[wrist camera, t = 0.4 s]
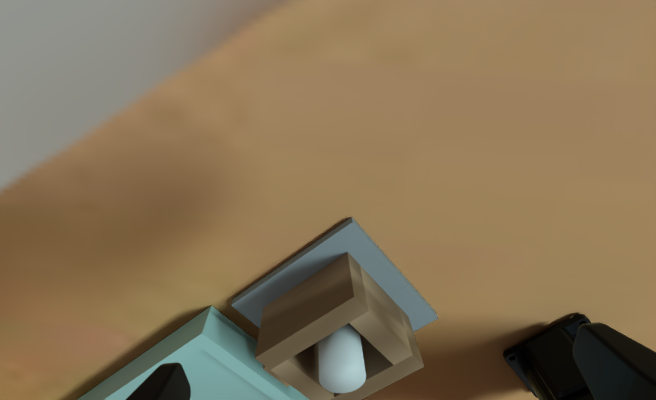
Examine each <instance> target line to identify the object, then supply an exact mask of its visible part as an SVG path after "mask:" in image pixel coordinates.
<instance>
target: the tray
mask: <svg viewBox="0 0 656 400" xmlns="http://www.w3.org/2000/svg"><path fill="white" fill-rule="evenodd" d="M256 348H257V341H256V340H255V339H253V338H252V337H251V336H250V335H248V334H247V333H246V332H245V331H243V330H242V329H241V328H239V327H238V326H237V325H236V324H234V323H233V322H232V321H231V320H229V319H228V318H227V317H225V316H224V315H223V314H222V313H220V312H219V311H218V310H216V309H215V308H214V307H213V306H210V307H209V308H208V309H206V310H205V311H203V312H202V313H200V314H199V315H197V316H196V317H195V318H193V319H192V320H190V321H189V322H187V323H186V324H185V325H183V326H182V327H180V328H179V329H177V330H176V331H175V332H173V333H172V334H170V335H169V336H167V337H166V338H165V339H163V340H162V341H160V342H159V343H157V344H156V345H154V346H153V347H152V348H150V349H149V350H147V351H146V352H144V353H143V354H142V355H140V356H139V357H137V358H136V359H134V360H133V361H132V362H130V363H129V364H127V365H126V366H124V367H123V368H122V369H120V370H119V371H117V372H116V373H114V374H113V375H111V376H110V377H109V378H107V379H106V380H104V381H103V382H101V383H100V384H99V385H97V386H96V387H94V388H93V389H91V390H90V391H89V392H87V393H86V394H84V395H83V396H81V397H80V398H79V399H77V400H126V399H127V398H128V397H129V395H130V394H131V393H132V392H133V391H134V390H135V389H136V388H137V387H138V386H139V385H140V384H141V383H142V382H143V381H144V380H145V379H146V378H147V377H148V376H149V375H150V374H151V373H152V372H153V371H154V370H155V369H156V368H157V367H159V366H160V365H162V364H165V363H175V362H178V363H180V364H181V365H182V367H183V369H184V371H185V374H186V376H187V379H188V381H189V384H190V387H191V397H190V400H309V399H308V398H307V397H305V396H304V395H303V394H301V393H300V392H299V391H297V390H296V389H295V388H293V387H292V386H291V385H290V386H289V387H286V386H285V385H284V384H282V383H281V382H280V381H278V380H277V379H276V378H274V377H273V376H272V375H270V374H269V373H268V372H266V371H265V370H264V369H263V364H262V363H260V362H259V361H258V360H256V359H255V354H256Z"/></svg>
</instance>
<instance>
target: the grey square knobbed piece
mask: <svg viewBox="0 0 656 400" xmlns="http://www.w3.org/2000/svg"><path fill="white" fill-rule="evenodd" d="M346 252H348V253H349V254H350V255H351V256H352V257H353V258H354V259H355V260H356V261H357V262H358V263H359V264H360V265H361V267H362V268H363V269H364V270H365V271H366V272H367V273H368V274H369V275H370V276H371V277H372V278H373V279H374V280H375V281H376V283H377V284H378V285H379V286H380V287H381V288H382V289H383V290H384V291H385V292H386V293H387V294H388V295H389V296H390V297H391V298H392V300H393V301H394V302H395V303H396V304H397V305H398V306H399V307H400V308H401V309H402V310H403V311H404V312H405V313H406V314H407V316H408V317H409V320H410V323H411V326H412V329H413V332H414V331H416V330H418V329H420V328H421V327H423V326H425V325H427V324H429V323H430V322H432V321H434V320H436V319H438V317H437V314H436V312H435V311H434V310H433V309H432V307H431V306H430V305H429V304H428V303H427V302H426V301H425V300H424V298H423V297H422V296H421V295H420V294H419V293H418V292H417V290H416V289H415V288H414V287H413V286H412V285H411V284H410V283H409V281H408V280H407V279H406V278H405V277H404V276H403V275H402V273H401V272H400V271H399V270H398V269H397V268H396V267H395V266H394V264H393V263H392V262H391V261H390V260H389V259H388V258H387V256H386V255H385V254H384V253H383V252H382V251H381V250H380V249H379V247H378V246H377V245H376V244H375V243H374V242H373V241H372V239H371V238H370V237H369V236H368V235H367V234H366V233H365V231H364V230H363V229H362V228H361V227H360V226H359V225H358V224H357V222H356V221H355V220H354V219H353V218H352V217H351V218H349V219H348V220H347V221H345V222H344V223H342V224H341V225H339V226H338V227H336V228H335V229H334V230H332V231H331V232H329V233H328V234H326V235H325V236H323V237H322V238H320V239H319V240H318V241H316V242H315V243H313V244H312V245H310V246H309V247H307V248H306V249H305V250H303V251H302V252H300V253H299V254H297V255H296V256H294V257H293V258H291V259H290V260H289V261H287V262H286V263H284V264H283V265H281V266H280V267H278V268H277V269H276V270H274V271H273V272H271V273H270V274H268V275H267V276H265V277H264V278H262V279H261V280H260V281H258V282H257V283H255V284H254V285H252V286H251V287H249V288H248V289H247V290H245V291H244V292H242V293H241V294H239V295H238V296H236V297H235V298H234V299H233V300H232V303H231V306H232V307H234V308H235V309H236V310H237V311H239V312H240V313H241V314H242V315H243V316H245V317H246V318H247V319H248V320H250V321H251V322H252V323H253V324H255V325H256V326H257V327H258V328H260V324H261V318H262V312H263V307H265V306H266V305H268V304H269V303H271V302H272V301H274V300H275V299H277V298H278V297H280V296H281V295H283V294H284V293H286V292H287V291H289V290H290V289H292V288H293V287H295V286H296V285H298V284H299V283H301V282H302V281H304V280H306V279H307V278H309V277H310V276H312V275H313V274H315V273H316V272H318V271H319V270H321V269H322V268H324V267H325V266H327V265H328V264H330V263H331V262H333V261H334V260H336V259H337V258H339V257H340V256H342V255H343V254H345V253H346ZM318 347H319V381H320V384H321V385H322V387H323V388H325V389H326V390H328V391H330V392H334V393H348V392H352V391H354V390H357V389H358V388H360V387H361V386H362V385H363V384H364V382H365V380H366V372H365V365H364V359H363V352H362V345H361V338H360V333H359V332H358V331H357V330H356V329H355V328H354V327H353V326H352V325H351V324H350V323H348V324H346V325H345V326H343V327H341V328H340V329H338V330H336V331H335V332H333V333H331V334H330V335H328V336H326V337H325V338H323V339H321V340H320V341H318Z"/></svg>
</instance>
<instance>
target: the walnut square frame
mask: <svg viewBox="0 0 656 400" xmlns="http://www.w3.org/2000/svg"><path fill="white" fill-rule="evenodd" d="M348 323H350V324H351V325H352V326H353V327H354V328H355V329H356V330H357V331H358V332H359V333H360V338H361V345H362V352H363V359H364V365H365V372H366V380H365V382H364V384H363V385H362V386H361V387H360V388H358V389H357V390H354V391H352V392H348V393H334V392H330V391H328V390H326V389H325V388H323V387H322V385H321V384H320V381H319V347H318V341H320V340H321V339H323V338H325V337H326V336H328V335H330V334H331V333H333V332H335V331H336V330H338V329H340V328H341V327H343V326H345V325H346V324H348ZM255 359H256V360H258V361H259V362H260V363H262V364H263V369H264V370H265V371H266V372H268V373H269V374H270V375H272V376H273V377H274V378H276V379H277V380H278V381H280V382H281V383H282V384H284V385H285V386H286V387H289V386H290V385H291V386H292V387H293V388H295V389H296V390H297V391H299V392H300V393H301V394H303V395H304V396H305V397H307V398H308V399H309V400H362V399H364V398H366V397H368V396H369V395H371V394H373V393H375V392H377V391H379V390H381V389H383V388H385V387H387V386H388V385H390V384H392V383H394V382H396V381H398V380H400V379H402V378H404V377H406V376H408V375H409V374H411V373H413V372H415V371H417V370H419V369H421V368H423V367H424V364H423V361H422V358H421V354H420V351H419V348H418V345H417V342H416V339H415V336H414V333H413V329H412V326H411V323H410V320H409V317H408V316H407V314H406V313H405V312H404V311H403V310H402V309H401V308H400V307H399V306H398V305H397V304H396V303H395V302H394V301H393V300H392V298H391V297H390V296H389V295H388V294H387V293H386V292H385V291H384V290H383V289H382V288H381V287H380V286H379V285H378V284H377V283H376V281H375V280H374V279H373V278H372V277H371V276H370V275H369V274H368V273H367V272H366V271H365V270H364V269H363V268H362V267H361V265H360V264H359V263H358V262H357V261H356V260H355V259H354V258H353V257H352V256H351V255H350V254H349V253H348V252H346V253H345V254H343V255H342V256H340V257H339V258H337V259H336V260H334V261H333V262H331V263H330V264H328V265H327V266H325V267H324V268H322V269H321V270H319V271H318V272H316V273H315V274H313V275H312V276H310V277H309V278H307V279H306V280H304V281H302V282H301V283H299V284H298V285H296V286H295V287H293V288H292V289H290V290H289V291H287V292H286V293H284V294H283V295H281V296H280V297H278V298H277V299H275V300H274V301H272V302H271V303H269V304H268V305H266V306H265V307H263V312H262V318H261V324H260V330H259V336H258V342H257V348H256V354H255Z"/></svg>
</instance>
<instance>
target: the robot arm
mask: <svg viewBox="0 0 656 400" xmlns="http://www.w3.org/2000/svg"><path fill="white" fill-rule="evenodd" d="M503 357H504V358H505V360H506V362H507V363H508V364H509V365H510V367H511V368H512V369H513V370H514V371H515V373H516V374H517V375H518V376H519V377H520V379H521V380H522V381H523V382H524V384H525V385H526V386H527V387H528V388H529V390H530V391H531V392H532V393H533V394H534V396H535V397H537V398H538V399H539V400H656V352H654V351H652V350H651V349H649V348H647V347H645V346H643V345H642V344H640V343H638V342H636V341H634V340H633V339H631V338H629V337H627V336H625V335H623V334H622V333H620V332H618V331H616V330H614V329H613V328H611V327H609V326H607V325H605V324H603V323H591V322H590V320H589V319H588V318H587V317H586V316H585V315H583V314H579V315H576V316H574V317H572V318H570V319H568V320H566V321H564V322H562V323H560V324H558V325H556V326H554V327H552V328H550V329H548V330H546V331H544V332H542V333H540V334H538V335H536V336H534V337H532V338H531V339H529V340H527V341H525V342H523V343H521V344H519V345H517V346H515V347H513V348H511V349H509V350H507V351H505V352H504V353H503ZM190 397H191V387H190V384H189V381H188V379H187V376H186V374H185V371H184V369H183V367H182V365H181V364H180V363H178V362H175V363H165V364H162V365H160V366H159V367H157V368H156V369H155V370H154V371H153V372H152V373H151V374H150V375H149V376H148V377H147V378H146V379H145V380H144V381H143V382H142V383H141V384H140V385H139V386H138V387H137V388H136V389H135V390H134V391H133V392H132V393H131V394H130V395H129V397H128V398H127V399H126V400H190Z"/></svg>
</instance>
